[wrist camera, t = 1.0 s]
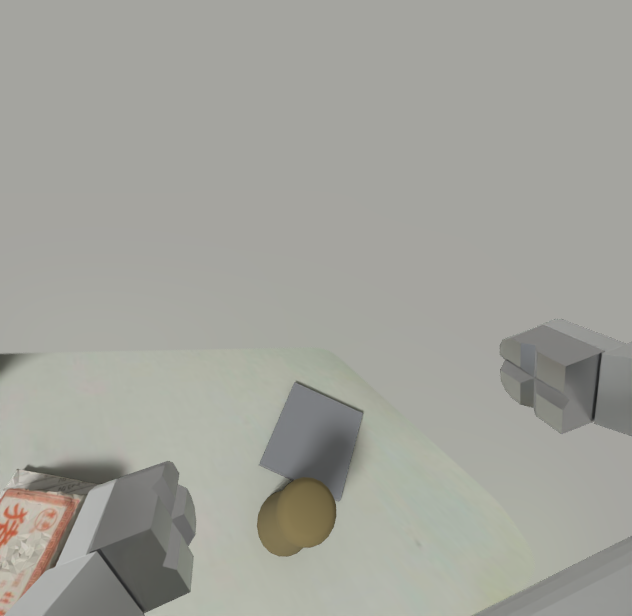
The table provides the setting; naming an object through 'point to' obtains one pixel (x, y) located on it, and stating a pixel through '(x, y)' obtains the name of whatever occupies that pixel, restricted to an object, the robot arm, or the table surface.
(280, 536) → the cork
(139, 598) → the robot arm
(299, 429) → the mat
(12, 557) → the packaged product
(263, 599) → the table surface
